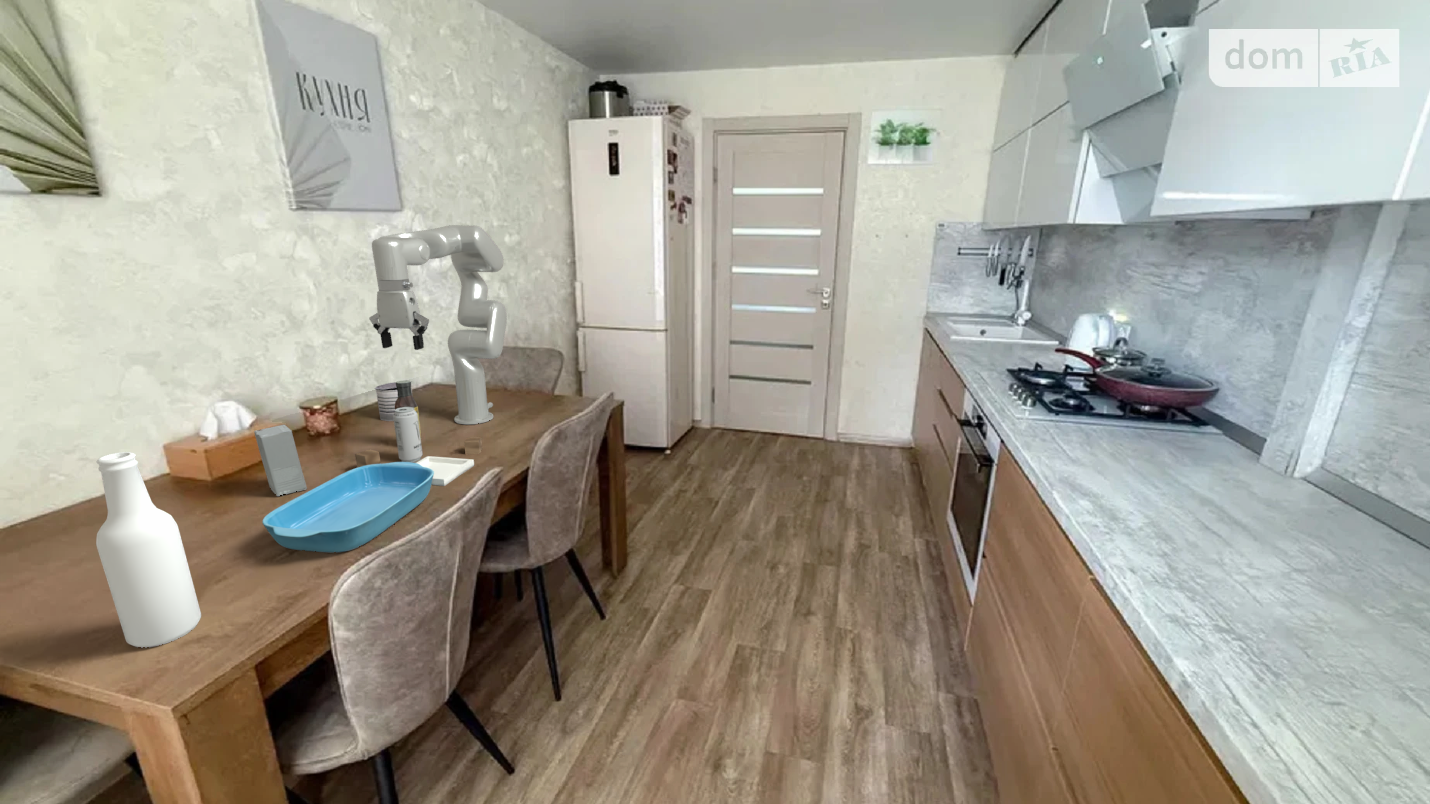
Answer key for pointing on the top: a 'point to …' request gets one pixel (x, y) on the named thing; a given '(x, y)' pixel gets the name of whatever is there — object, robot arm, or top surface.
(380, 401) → the striped cup
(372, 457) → the walnut block
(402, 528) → the top surface
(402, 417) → the energy drink can
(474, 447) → the walnut block
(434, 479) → the tray
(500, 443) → the top surface
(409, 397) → the sauce bottle
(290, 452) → the skincare box
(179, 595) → the alcohol
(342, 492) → the casserole dish
